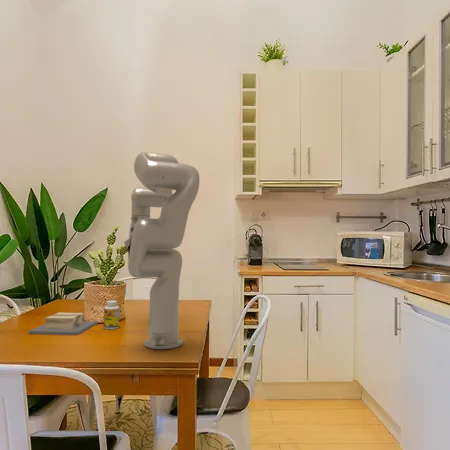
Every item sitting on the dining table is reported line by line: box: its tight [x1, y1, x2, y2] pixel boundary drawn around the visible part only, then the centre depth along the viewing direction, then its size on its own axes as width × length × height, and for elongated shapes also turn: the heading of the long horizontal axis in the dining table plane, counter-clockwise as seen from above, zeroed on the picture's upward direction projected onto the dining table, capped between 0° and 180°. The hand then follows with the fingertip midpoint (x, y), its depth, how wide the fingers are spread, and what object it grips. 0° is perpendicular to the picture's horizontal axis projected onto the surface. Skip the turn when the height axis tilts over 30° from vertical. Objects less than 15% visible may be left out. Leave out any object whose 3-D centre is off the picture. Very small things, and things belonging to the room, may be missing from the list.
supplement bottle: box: [103, 300, 120, 330], centre depth 147 cm, size 6×6×10 cm
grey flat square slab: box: [28, 320, 98, 336], centre depth 145 cm, size 18×18×1 cm
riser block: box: [44, 311, 85, 329], centre depth 145 cm, size 10×10×4 cm
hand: (140, 262), depth 155 cm, fingers open, 9 cm apart
